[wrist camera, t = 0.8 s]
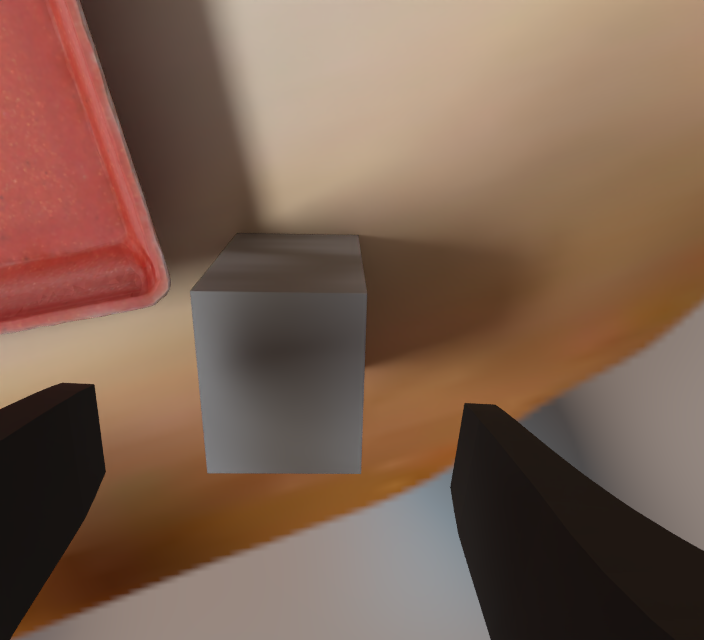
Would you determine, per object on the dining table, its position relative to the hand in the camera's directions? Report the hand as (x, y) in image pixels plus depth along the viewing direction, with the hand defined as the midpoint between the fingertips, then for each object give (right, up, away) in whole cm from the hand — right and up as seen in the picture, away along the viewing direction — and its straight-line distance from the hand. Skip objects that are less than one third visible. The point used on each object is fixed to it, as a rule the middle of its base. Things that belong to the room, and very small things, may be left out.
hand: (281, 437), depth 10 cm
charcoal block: (0, +3, +8) cm, 9 cm away
